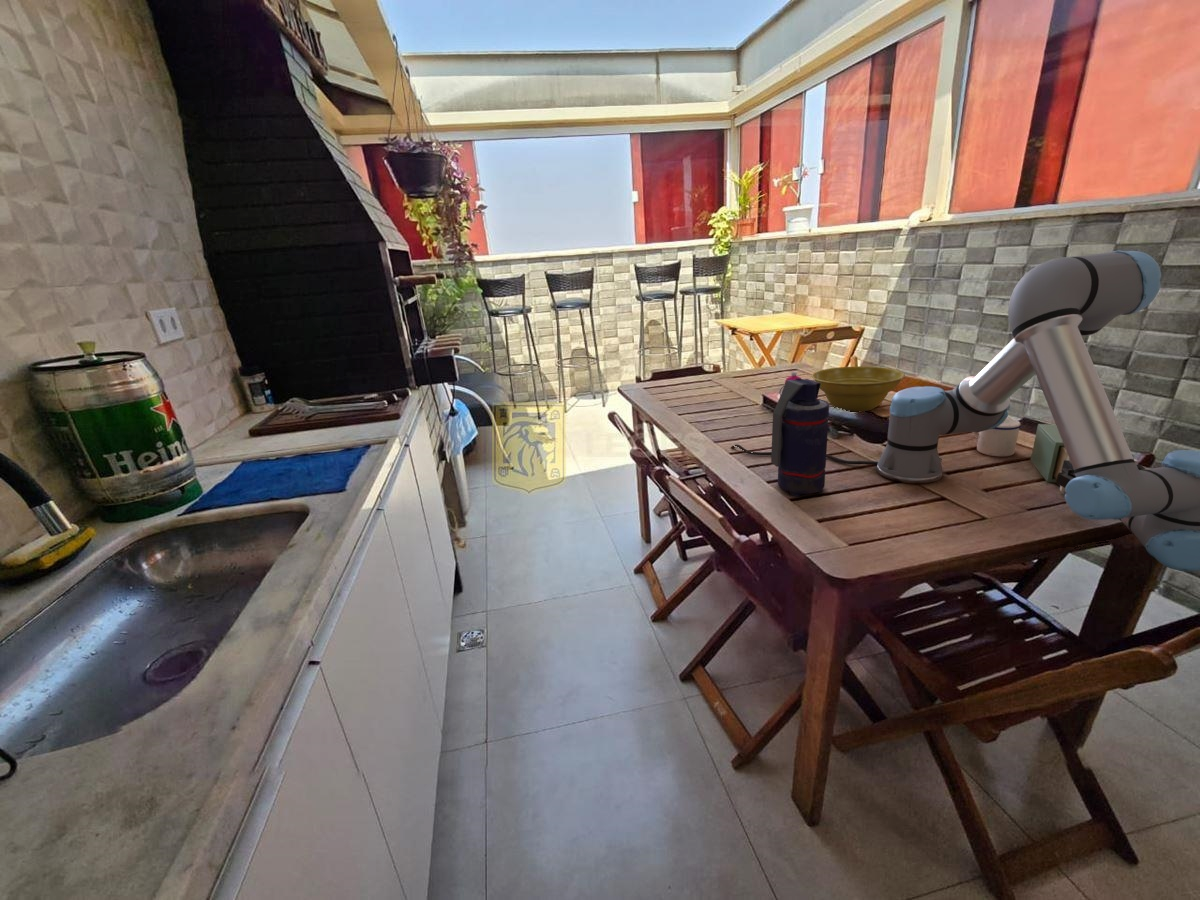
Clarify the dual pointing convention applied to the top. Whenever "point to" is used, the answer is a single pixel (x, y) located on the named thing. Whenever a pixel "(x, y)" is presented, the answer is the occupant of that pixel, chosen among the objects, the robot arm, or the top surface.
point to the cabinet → (1046, 450)
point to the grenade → (800, 437)
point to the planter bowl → (857, 386)
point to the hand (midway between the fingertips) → (1099, 467)
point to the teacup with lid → (999, 439)
